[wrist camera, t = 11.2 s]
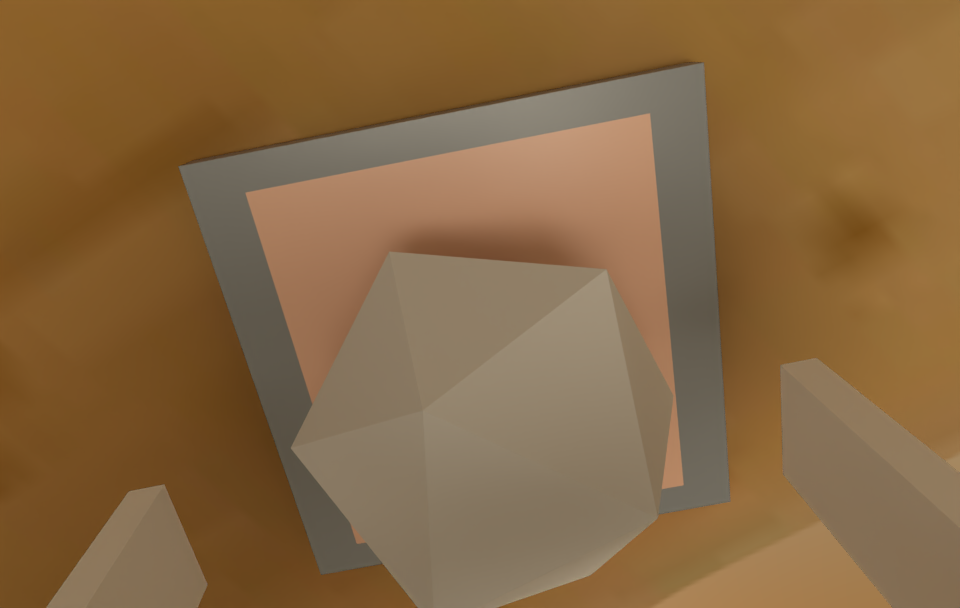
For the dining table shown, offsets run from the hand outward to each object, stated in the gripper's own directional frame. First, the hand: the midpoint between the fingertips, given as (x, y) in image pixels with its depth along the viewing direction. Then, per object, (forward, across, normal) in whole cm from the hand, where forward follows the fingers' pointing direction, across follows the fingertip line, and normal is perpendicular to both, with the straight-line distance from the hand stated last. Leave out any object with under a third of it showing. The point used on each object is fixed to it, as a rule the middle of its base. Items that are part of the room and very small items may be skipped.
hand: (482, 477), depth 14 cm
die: (+6, 0, 0) cm, 6 cm away
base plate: (+7, 0, 0) cm, 7 cm away
